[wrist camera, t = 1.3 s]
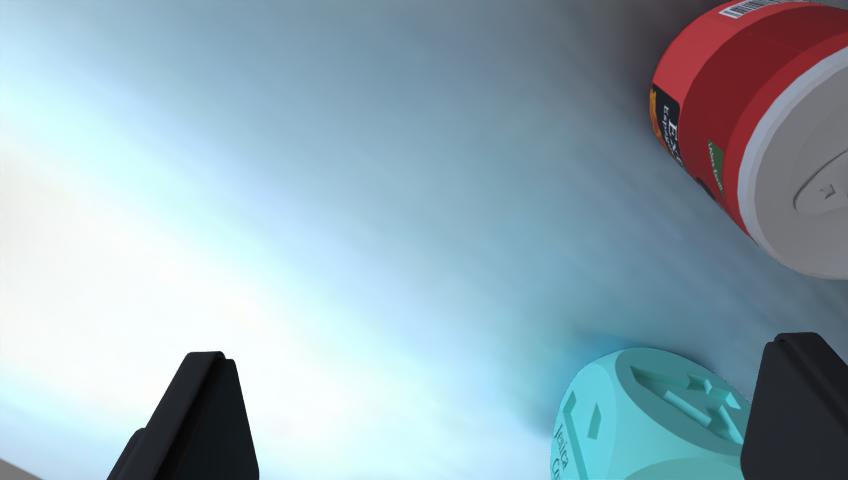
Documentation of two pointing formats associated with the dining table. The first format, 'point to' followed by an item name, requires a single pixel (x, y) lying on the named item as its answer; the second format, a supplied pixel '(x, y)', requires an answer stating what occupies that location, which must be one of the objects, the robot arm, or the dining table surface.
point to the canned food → (765, 123)
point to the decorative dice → (648, 421)
